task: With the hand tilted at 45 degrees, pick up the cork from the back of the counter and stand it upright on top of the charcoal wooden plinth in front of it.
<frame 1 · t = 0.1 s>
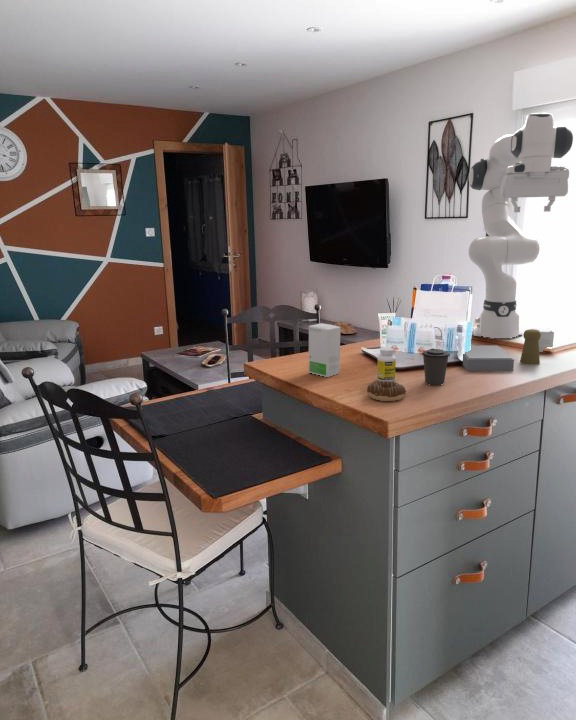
hand: (531, 212, 182), 48 cm above the countertop, tool pointing down, fingers open, 8 cm apart
cork: (529, 363, 184), on the countertop
supplement bottle: (386, 380, 170), on the countertop
plinth: (483, 363, 185), on the countertop
skincare box: (541, 350, 200), on the countertop
donut: (386, 398, 155), on the countertop
skincare box 2: (324, 374, 179), on the countertop
coffee cup: (434, 383, 166), on the countertop
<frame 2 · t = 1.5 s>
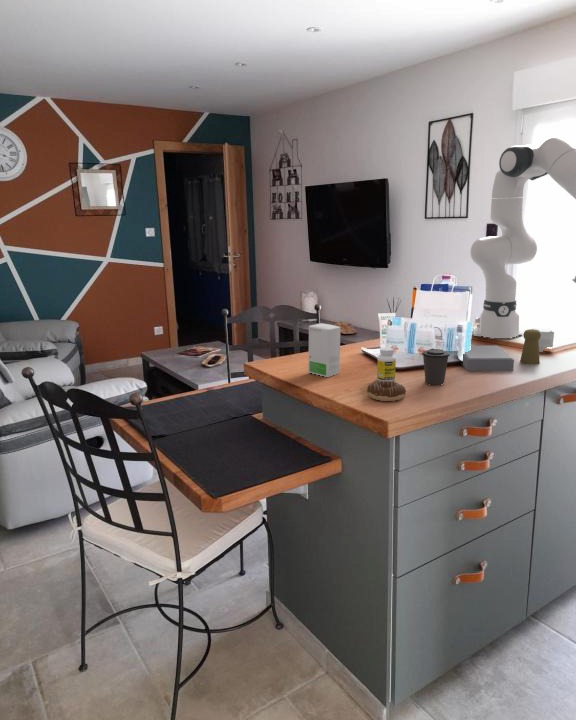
nothing on the countertop moved.
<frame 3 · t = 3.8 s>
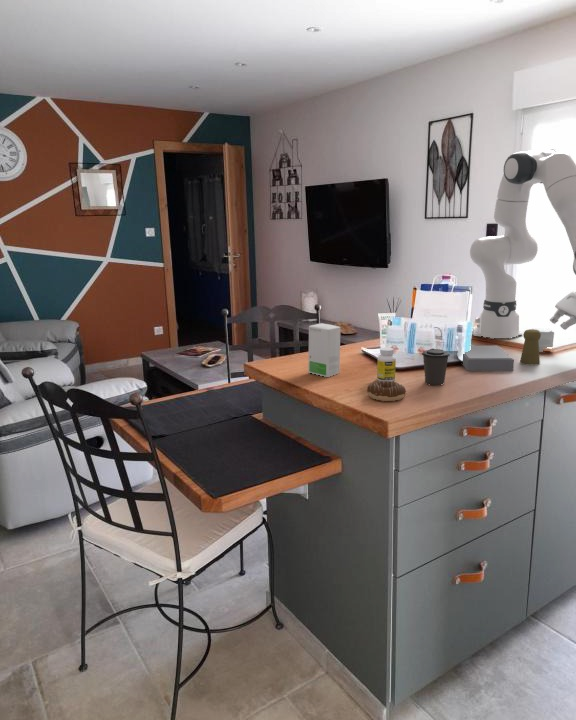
hand: (556, 324, 180), 13 cm above the countertop, tool tilted 45°, fingers open, 8 cm apart
nothing on the countertop moved.
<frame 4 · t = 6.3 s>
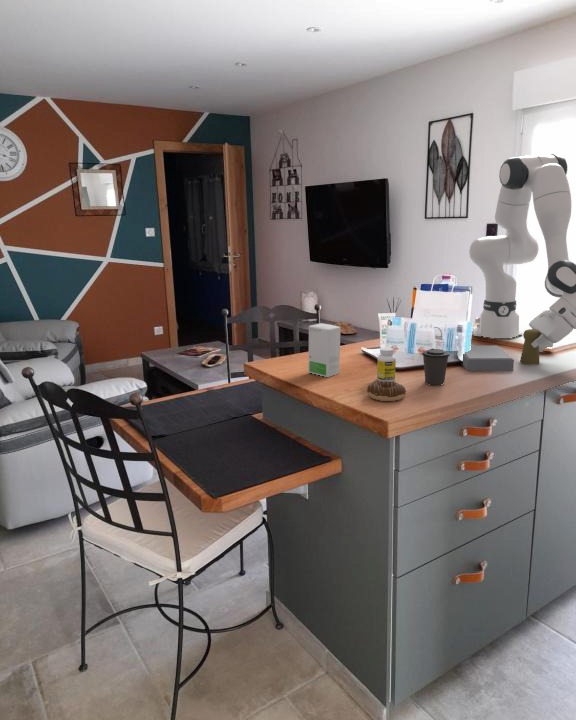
hand: (529, 343, 183), 6 cm above the countertop, tool tilted 45°, fingers closed on cork, 5 cm apart
cork: (529, 363, 184), on the countertop, touching gripper
everything else where it was.
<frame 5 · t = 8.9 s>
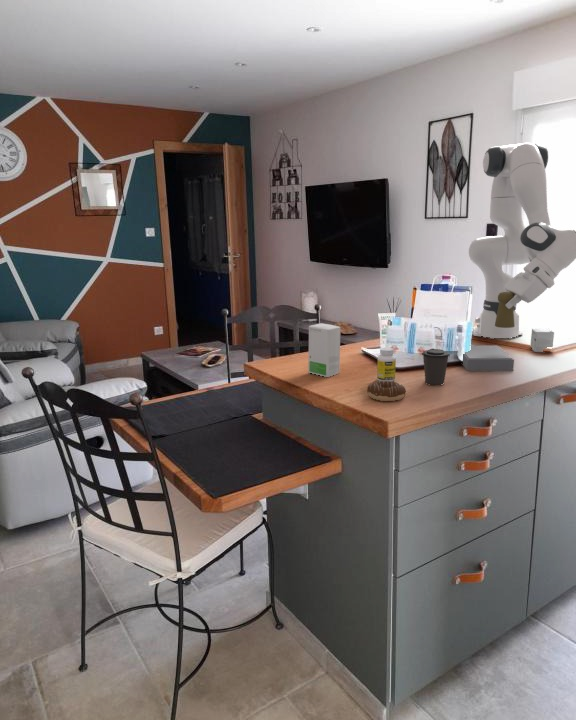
hand: (503, 305, 180), 19 cm above the countertop, tool tilted 45°, fingers closed on cork, 5 cm apart
cork: (504, 326, 182), point 12 cm above the countertop, touching gripper
everything else where it was.
when the fingers open (11 cm above the countertop, at t = 11.7 s): cork stays where it is, resting on plinth.
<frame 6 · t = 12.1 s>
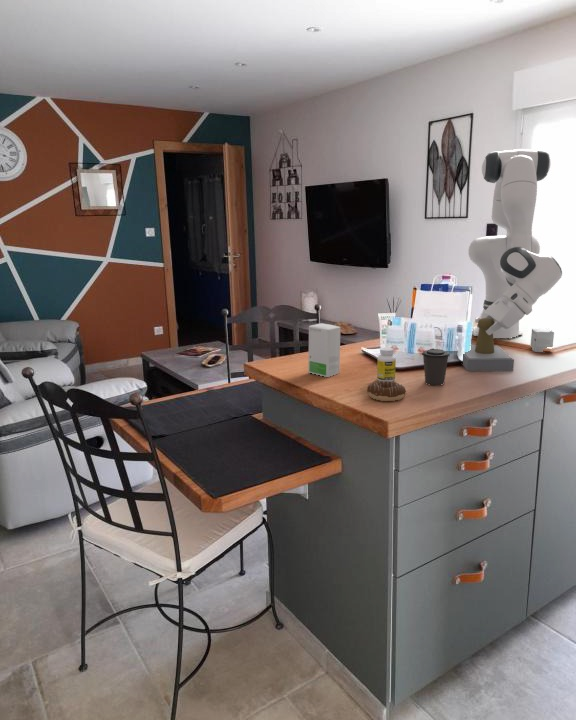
hand: (483, 330, 182), 11 cm above the countertop, tool tilted 45°, fingers open, 8 cm apart
cork: (484, 352, 184), point 4 cm above the countertop, touching plinth
everything else where it was.
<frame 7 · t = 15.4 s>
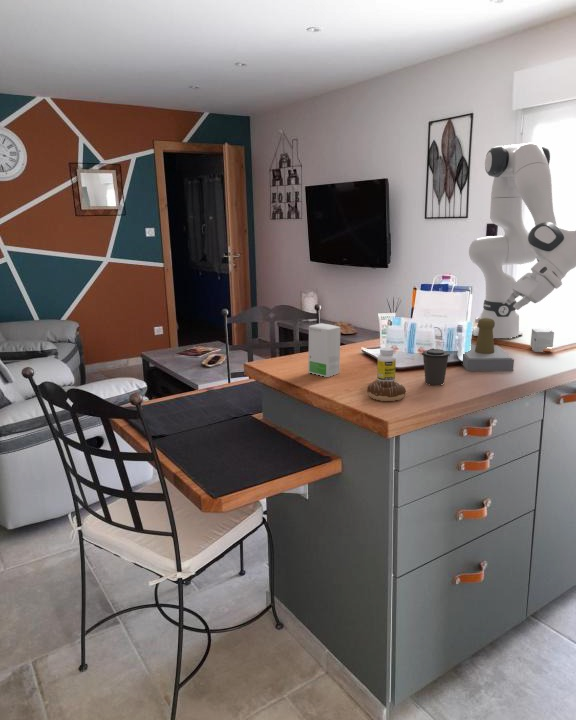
hand: (510, 305, 179), 19 cm above the countertop, tool tilted 45°, fingers open, 8 cm apart
nothing on the countertop moved.
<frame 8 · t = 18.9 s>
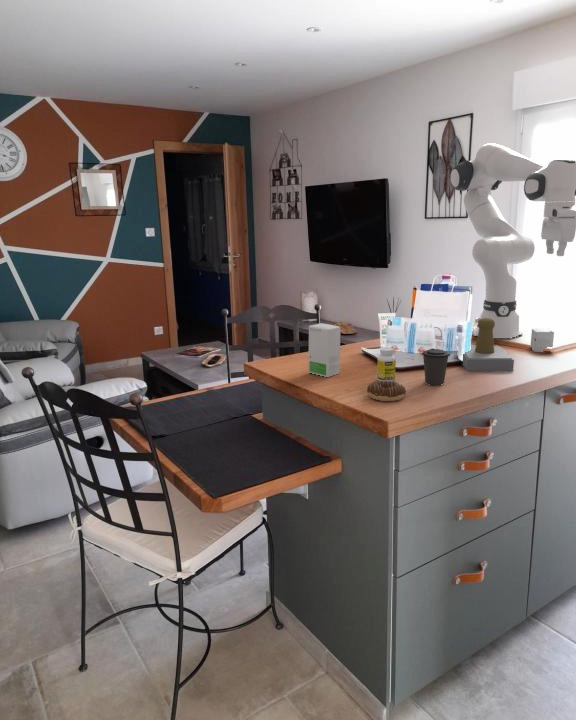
hand: (554, 254, 183), 34 cm above the countertop, tool pointing down, fingers open, 8 cm apart
nothing on the countertop moved.
at the end: cork inside the target area on the plinth (0.1 cm from its centre), point 3.8 cm above the plinth's base; cork tilted 0°; the gripper is holding nothing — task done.
